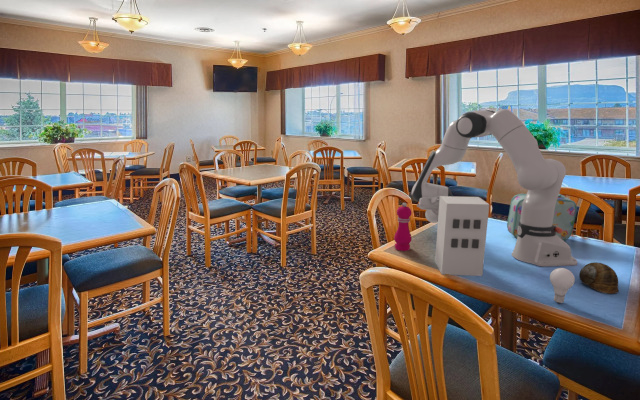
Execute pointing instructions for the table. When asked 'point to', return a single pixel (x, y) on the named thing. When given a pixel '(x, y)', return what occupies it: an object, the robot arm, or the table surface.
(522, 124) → the robot arm
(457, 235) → the cabinet
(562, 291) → the lightbulb
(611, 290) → the seashell
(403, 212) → the pepper mill
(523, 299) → the table surface
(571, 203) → the lunch box
